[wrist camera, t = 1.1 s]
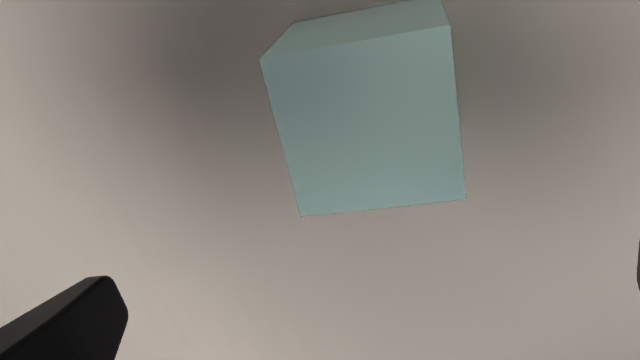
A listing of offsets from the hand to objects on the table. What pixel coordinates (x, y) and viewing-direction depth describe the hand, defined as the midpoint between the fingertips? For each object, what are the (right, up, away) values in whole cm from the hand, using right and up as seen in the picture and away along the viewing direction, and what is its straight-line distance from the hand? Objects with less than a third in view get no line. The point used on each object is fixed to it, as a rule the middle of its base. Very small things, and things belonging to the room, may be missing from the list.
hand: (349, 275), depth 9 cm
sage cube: (+2, +5, +10) cm, 11 cm away
